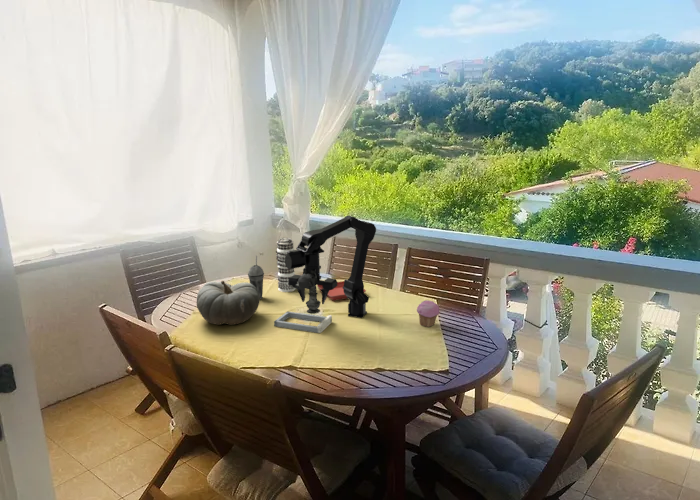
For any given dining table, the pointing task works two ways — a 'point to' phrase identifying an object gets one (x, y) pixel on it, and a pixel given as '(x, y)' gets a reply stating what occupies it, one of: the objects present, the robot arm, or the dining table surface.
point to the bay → (318, 329)
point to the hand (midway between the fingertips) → (313, 302)
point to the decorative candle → (283, 271)
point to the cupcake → (428, 313)
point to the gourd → (227, 302)
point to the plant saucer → (336, 292)
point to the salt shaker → (313, 301)
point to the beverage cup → (256, 278)
